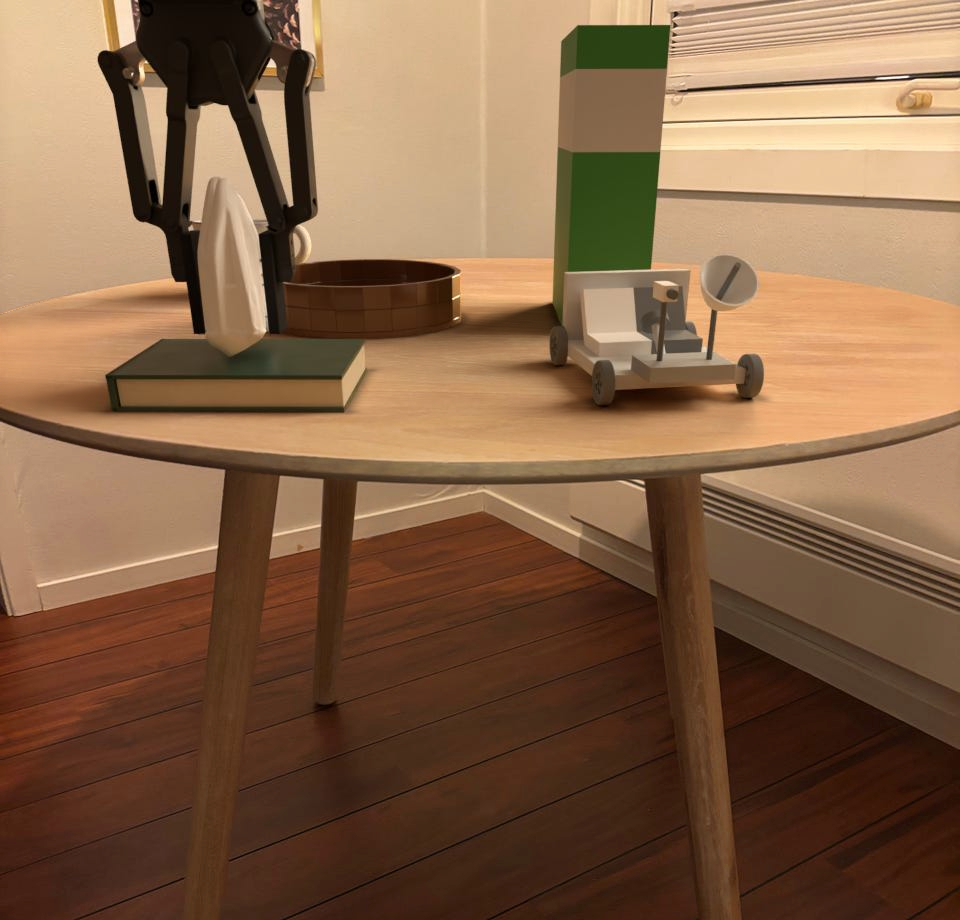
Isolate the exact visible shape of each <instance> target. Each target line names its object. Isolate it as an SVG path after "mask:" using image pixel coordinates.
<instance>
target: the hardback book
mask: <svg viewBox="0 0 960 920" xmlns="http://www.w3.org/2000/svg"><path fill="white" fill-rule="evenodd" d="M671 25H672V24H577V25H576V26H575V27H574V28H573V29H572V30H571V31H570V32H569V33H568V34H567V35H566V36H565V37H564V38H563V39H562V40H561V41H560V61H559V63H560V65H559V94H558V95H559V98H558V122H557V123H558V124H557V125H558V126H557V127H558V129H557V154H556V155H557V157H556V181H555V182H556V184H555V185H556V186H555V213H554V214H555V215H554V217H555V218H554V244H553V246H554V247H553V275H552V305H553V309H554V311H555V314H556V315H557V318H558V321H559V324H560V326H562V323H563V296H564V272H585V271H620V270H652V263H653V262H652V261H653V251H654V250H653V249H654V237H655V224H656V212H657V200H658V199H657V198H658V187H659V175H660V163H661V151H662V150H661V149H662V138H663V137H662V136H663V124H664V112H665V99H666V89H667V88H666V86H667V75H668V62H669V52H670V51H669V50H670V49H669V48H670V37H671Z"/></svg>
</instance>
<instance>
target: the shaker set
mask: <svg viewBox="0 0 960 920" xmlns="http://www.w3.org/2000/svg"><path fill="white" fill-rule="evenodd" d="M204 195H205V196H204V202H203V208H202V215H201V220H202V221H201V228H200V235H199V242H198V251H197V254H198V269H199V278H200V288H201V297H202V306H203V314H204V323H205V330H206V332H205V334H204V335H205V339H207V341H208V342H209V343H210V344H211V346H213V347H215V348H217V349H219V350H220V351H221V352H223V353H224V354H226V355H227V356H229V357H230V356H233V355H235V354H237V353H239V352H241V351H243V350H245V349H247V348H248V347H250V346H251V345H253V344H255V343H256V342H258V341H259V340H261V339H264V338H263V337H264V336H265V334H266V333H267V332H268V333H269V327H268V318H267V309H266V300H265V291H264V282H263V272H262V263H261V254H260V245H259V236H258V233H257V230H256V228H255V225H254V223H253V220H254V219H253V218H252V216H251V214H250V212H249V210H248V207H247V205H246V203H245V201H244V200H243V198H242V196H241V195H240V194H239V193H238V192H237V191H236V189H235V188H234V186H233V184H232V183H231V181H230V180H229V179H228V178H225V177H222V178H221V177H220V176H213V177H211V178H210V179H209V180H208V182H207V184H206V190H205V194H204Z"/></svg>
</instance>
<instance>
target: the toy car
mask: <svg viewBox="0 0 960 920" xmlns="http://www.w3.org/2000/svg"><path fill="white" fill-rule="evenodd" d="M690 280H691V269H688V268H661V269H660V268H659V269H651V270H620V271H585V272H564V296H563V323H562V326H561V325H555V326H553V327H552V328H551V331H550V334H549V344H548V345H549V347H548V348H549V356H550V360H551V363H552V364H553V366H564V365H565V364H566V363H567V361H568V358H570V359H571V360H572V361H573V362H574V363H575V364H577V365H578V366H579V367H580V368H581V369H582V370H584V371H585V372H586V373H587V374H589V375H590V376H591V393H592V397H593V400H594V402H595V404H596V406H609V405H611V404H612V403H613V401H614V397H615V393H616V391H617V390H618V391H619V390H620V391H621V390H641V389H642V390H643V389H661V388H679V387H680V388H681V387H699V386H722V385H735V387H736V391H737V393H738V395H739V396H740V397H741V398H743V399H749V398H751V399H752V398H757V396H758V395H759V394H760V393H761V391H762V389H763V385H764V381H765V369H764V368H765V367H764V363H763V359H762V358H761V356H760V355H759V354H757V353H745V354H743V355H741V356H740V358H739V359H738V361H737V363H735V362H733V361H732V360H730V359H728V358H726V357H724V356H722V355H720V354H719V353H717V352H715V351H714V347H715V346H714V345H715V338H716V337H715V336H716V327H717V320H718V312H729V311H732V310H736V309H738V308H740V307H743V306H744V305H745V306H746V304H749V303H751V302H752V301H753V300H754V299H755V298H756V296H757V295H758V293H759V289H760V278H759V275H758V273H757V271H756V269H755V268H754V266H753V265H752V264H751V263H750V262H749V261H747V259H745V258H743V257H741V256H739V255H736V254H734V253H726V252H721V253H716V254H713V255H711V256H709V257H708V258H707V259H705V261H703V263H702V264H701V266H700V270H699V285H700V292H701V295H702V298H703V300H704V302H705V305H707V307H709V308H710V309H711V311H710V318H709V319H710V321H709V329H708V338H707V339H708V340H707V345H706V346H707V347H706V346H704V345H703V342H704V341H703V340H704V338H703V337H700V336H699V335H698V331H697V328H696V325H695V323H694V322H693V321H689V320H687V310H688V302H689V291H690V283H691V281H690Z"/></svg>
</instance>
